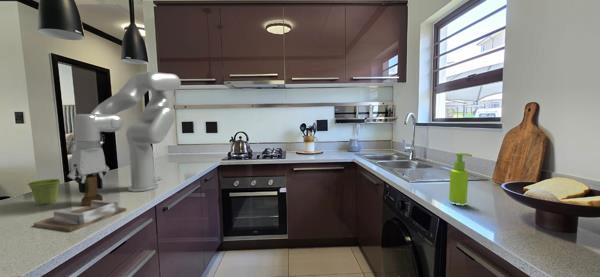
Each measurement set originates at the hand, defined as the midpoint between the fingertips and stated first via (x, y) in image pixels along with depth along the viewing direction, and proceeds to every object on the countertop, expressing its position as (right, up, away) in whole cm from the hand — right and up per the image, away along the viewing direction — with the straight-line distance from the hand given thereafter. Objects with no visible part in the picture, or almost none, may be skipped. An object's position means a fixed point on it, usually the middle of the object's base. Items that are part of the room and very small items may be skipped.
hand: (91, 190), depth 100 cm
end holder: (+9, -7, -14) cm, 19 cm away
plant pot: (-19, -6, +2) cm, 20 cm away
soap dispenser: (+146, -5, -2) cm, 147 cm away
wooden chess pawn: (0, -6, 0) cm, 6 cm away
